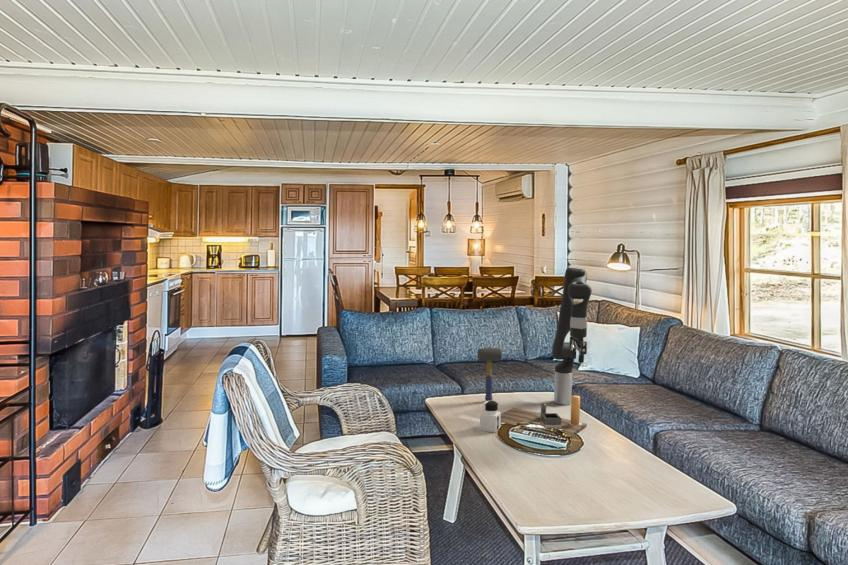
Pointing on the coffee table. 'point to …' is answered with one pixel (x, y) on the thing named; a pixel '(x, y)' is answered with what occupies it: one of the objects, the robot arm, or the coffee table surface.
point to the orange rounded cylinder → (575, 410)
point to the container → (490, 417)
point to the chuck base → (537, 420)
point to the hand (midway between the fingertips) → (577, 360)
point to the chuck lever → (549, 418)
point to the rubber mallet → (489, 366)
